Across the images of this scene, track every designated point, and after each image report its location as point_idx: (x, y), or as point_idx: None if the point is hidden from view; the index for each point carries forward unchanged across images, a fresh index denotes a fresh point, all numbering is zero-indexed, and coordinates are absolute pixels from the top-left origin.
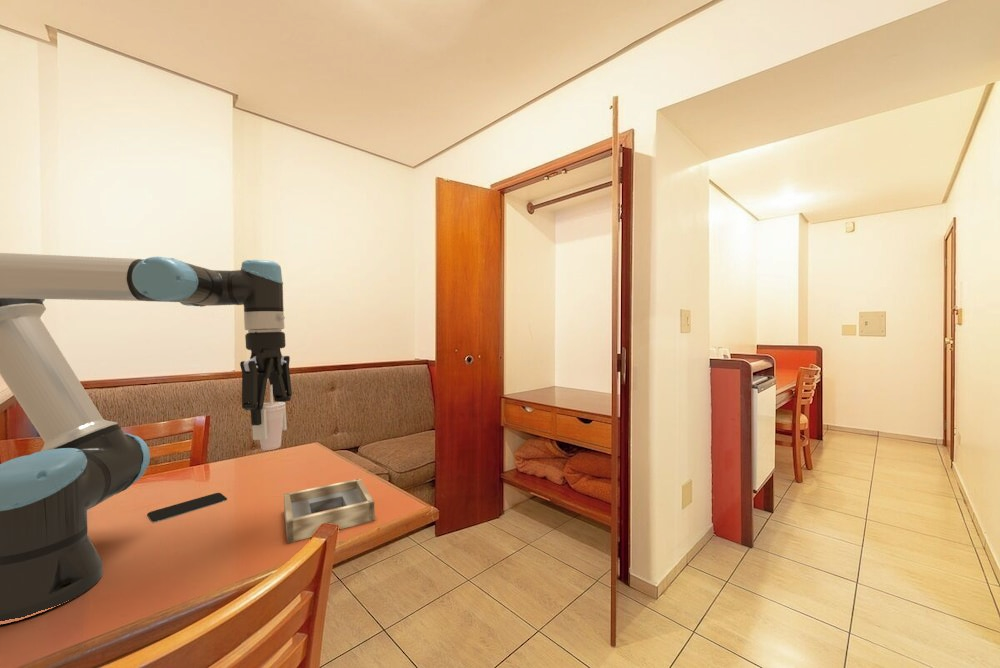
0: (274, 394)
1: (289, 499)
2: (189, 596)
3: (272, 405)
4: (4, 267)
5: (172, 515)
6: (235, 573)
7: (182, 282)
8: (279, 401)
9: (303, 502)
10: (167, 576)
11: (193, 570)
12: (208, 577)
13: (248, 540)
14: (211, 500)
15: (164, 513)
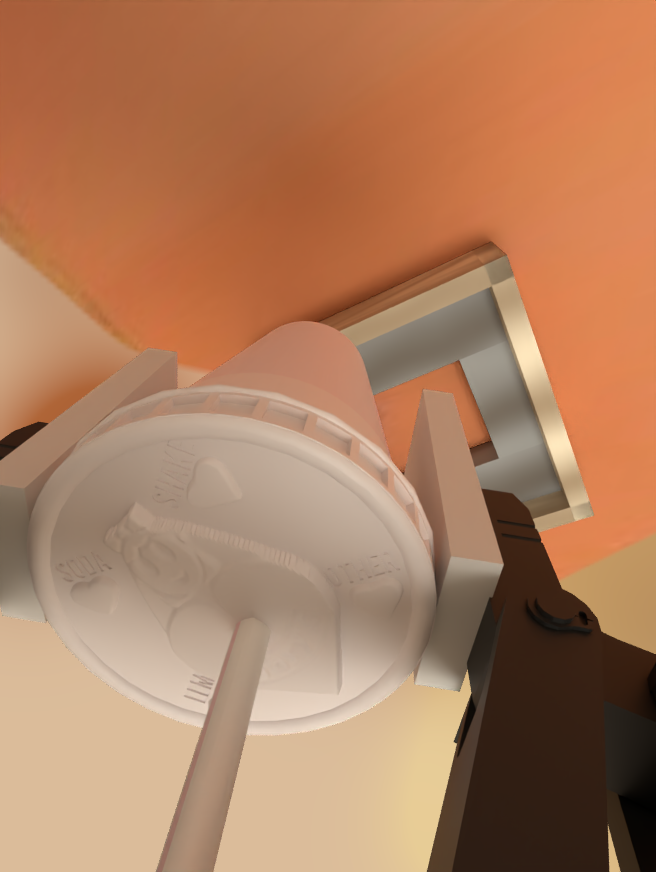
0: (481, 698)
1: (438, 306)
2: (14, 199)
3: (177, 650)
4: None
5: None
6: (114, 270)
7: None
8: (480, 636)
9: (474, 334)
10: (78, 42)
11: (115, 118)
12: (90, 198)
13: (285, 207)
14: None
15: None
